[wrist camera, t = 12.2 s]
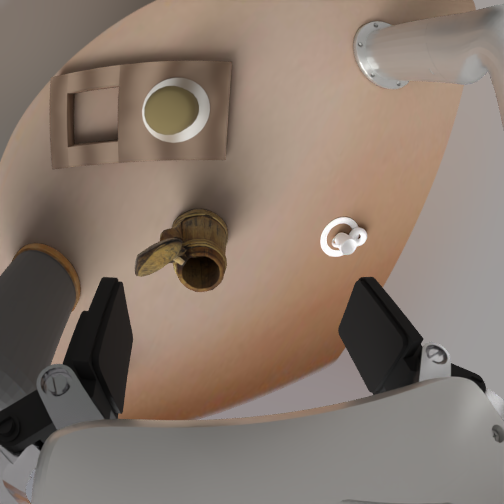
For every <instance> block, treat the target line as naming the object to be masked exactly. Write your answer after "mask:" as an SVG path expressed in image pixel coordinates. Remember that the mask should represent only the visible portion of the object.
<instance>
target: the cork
mask: <svg viewBox="0 0 504 504" xmlns="http://www.w3.org/2000/svg"><path fill="white" fill-rule="evenodd" d="M198 113H199V104H198V100H197V98H196V97H195V96H194V94H193V93H191V92H190V91H188V90H186V89H183V88H181V87H178V86H165V87H162V88H159V89H158V90H156V91H155V92H154V93H152V94H151V96H150V97H149V98H148V100H147V102H146V105H145V108H144V116H145V119H146V122H147V124H148V125H149V127H150V128H151V129H152V130H154V131H155V132H157V133H159V134H163V135H174V134H177V133H180V132H182V131H183V130H184V129H187V128H188V127H189V126H191V125H192V124H193V123H194V121H195V120H196V119H197V116H198Z"/></svg>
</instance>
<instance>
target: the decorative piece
mask: <svg viewBox="0 0 504 504" xmlns="http://www.w3.org/2000/svg"><path fill="white" fill-rule="evenodd" d="M80 288H81V287H80V282H79V278H78V276H77V273H76V271H75V269H74V268H73V266H72V265H71V263H70V262H69V261H68V259H67V258H65V257H64V256H63V255H62V254H61V253H60V252H59V251H57V250H56V249H54V248H52V247H50V246H48V245H44V244H40V243H32V244H28V245H26V246H24V247H23V248H21V249H20V250H19V251H18V252H17V254H16V255H15V256H14V258H13V260H12V262H11V264H10V265H9V266H8V267H7V268H6V270H5V271H4V272H3V273H2V275H1V276H0V411H1V410H3V409H5V408H6V407H8V406H10V405H12V404H13V403H15V402H17V401H18V400H20V399H22V398H23V397H25V396H27V395H28V394H30V393H32V392H34V391H35V390H37V386H36V384H37V378H38V376H39V374H40V373H41V371H42V370H43V369H45V368H46V367H48V366H50V365H51V362H52V359H53V357H54V354H55V351H56V348H57V346H58V343H59V340H60V338H61V335H62V333H63V330H64V328H65V325H66V323H67V321H68V318H69V316H70V314H71V312H72V311H73V310H74V309H75V307H76V305H77V303H78V300H79V297H80Z"/></svg>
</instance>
